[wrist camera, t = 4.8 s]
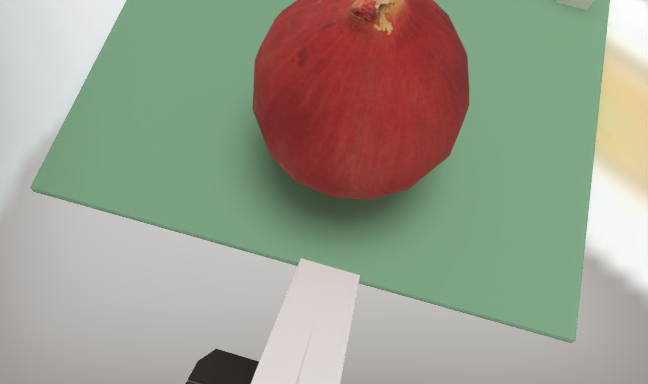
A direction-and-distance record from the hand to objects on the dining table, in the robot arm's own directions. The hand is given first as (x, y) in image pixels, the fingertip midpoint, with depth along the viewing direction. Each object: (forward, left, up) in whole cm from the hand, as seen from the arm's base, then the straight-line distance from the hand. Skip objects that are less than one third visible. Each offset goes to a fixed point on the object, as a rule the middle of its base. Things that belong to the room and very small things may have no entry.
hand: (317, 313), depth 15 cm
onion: (-1, +6, -3) cm, 7 cm away
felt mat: (-1, +13, -3) cm, 14 cm away
